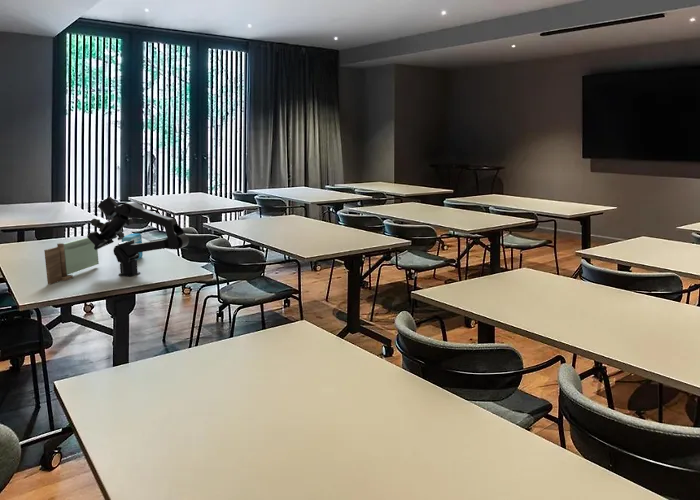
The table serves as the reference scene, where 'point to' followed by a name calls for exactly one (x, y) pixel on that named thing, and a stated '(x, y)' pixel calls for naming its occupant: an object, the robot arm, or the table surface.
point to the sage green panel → (80, 255)
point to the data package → (136, 238)
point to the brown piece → (56, 264)
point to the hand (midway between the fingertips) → (95, 249)
